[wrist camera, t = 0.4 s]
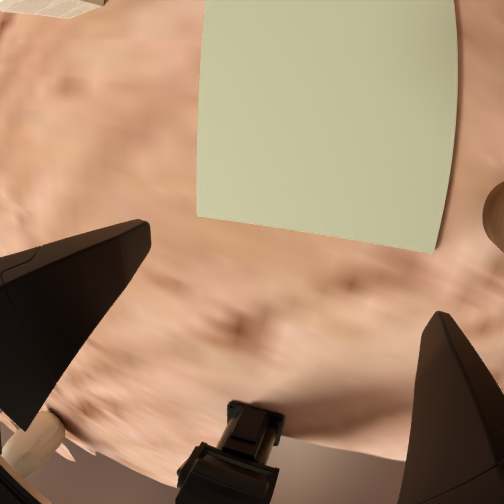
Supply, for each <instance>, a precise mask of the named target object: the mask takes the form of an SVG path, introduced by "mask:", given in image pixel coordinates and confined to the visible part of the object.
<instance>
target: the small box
mask: <svg viewBox="0 0 504 504" xmlns="http://www.w3.org/2000/svg"><path fill="white" fill-rule="evenodd" d="M103 5H104V0H0V12H13V13H25V14H35V15H43V16H50V17H57V18H64V19H71V18H73V17H75V16H78V15H81V14H83V13H86V12H88V11H91V10H94V9H96V8H99V7H102V6H103Z"/></svg>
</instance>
